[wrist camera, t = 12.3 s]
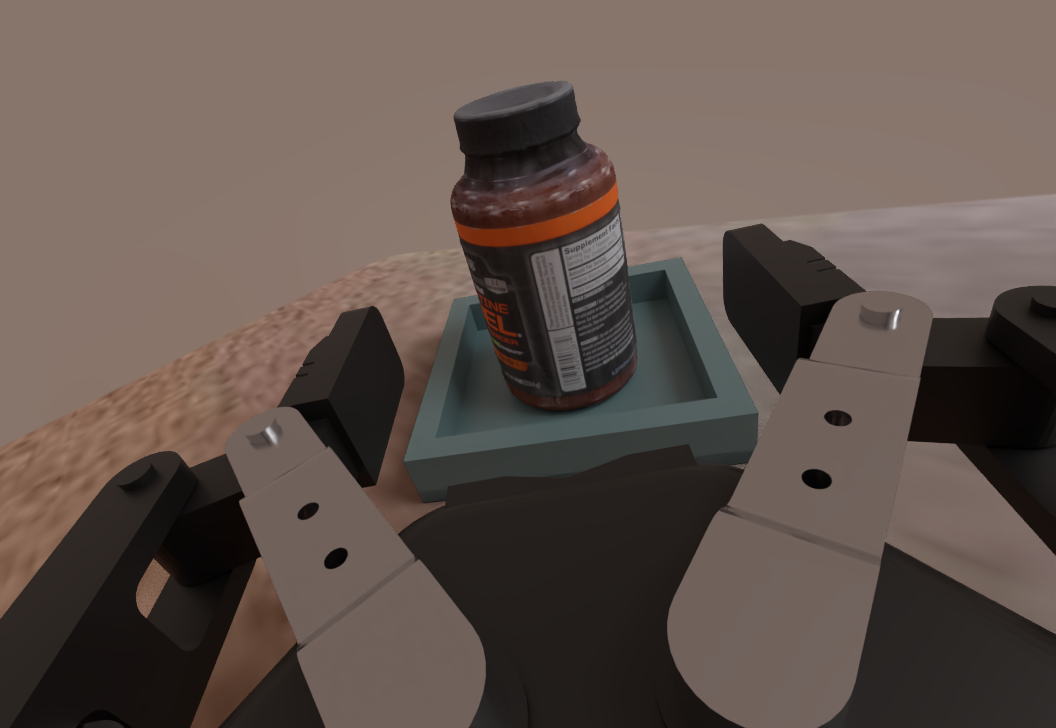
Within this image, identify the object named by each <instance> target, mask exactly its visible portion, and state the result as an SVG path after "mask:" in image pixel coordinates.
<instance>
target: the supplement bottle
mask: <svg viewBox="0 0 1056 728" xmlns="http://www.w3.org/2000/svg"><path fill="white" fill-rule="evenodd" d="M580 120H581V119H580V117H579V115H578V112H577V106H576V102H575V95H574V89H573V86H572V85H571V84H570V83H568V82H566V81H557V82H554V81H552V82H543V83H535V84H531V85H525V86H520V87H516V88H512V89H508V90H505V91H501V92H498V93H495V94H492V95H489V96H487V97H484V98H481V99H479V100H476V101H473V102H471V103H468V104H466V105H464V106H462V107H461V108H459V109H458V110H457V111H456V112H455V114H454V121H455V125H456V130H457V134H458V138H459V141H460V150H461V151H462V152H463V153H464V154H465V159H466V160H465V172H464V175H463V176H462V177H461V178H460V180H459V181H458V182H457V183H456V185H455V187H454V189H453V191H452V195H451V209H452V213H453V217H454V221H455V224H456V227H457V231H458V234H459V238H460V243H461V245H462V248H463V251H464V255H465V257H466V260H467V263H468V267H469V270H470V273H471V276H472V279H473V282H474V285H475V289H476V292H477V294H478V299H479V301H480V305H481V308H482V311H483V314H484V317H485V321H486V324H487V327H488V331H489V334H490V337H491V340H492V343H493V346H494V350H495V354H496V356H497V358H498V362H499V364H500V368H501V371H502V375H503V376H504V379H505V381H506V384H507V386H508V388H509V389H510V391H511V393H512V394H513V395H514V396H516V397H517V398H518V399H519V400H520V401H522V402H524V403H526V404H528V405H531V406H533V407H537V408H540V409H547V410H570V409H578V408H584V407H587V406H590V405H594V404H596V403H599V402H602V401H604V400H605V399H607V398H609V397H610V396H611V395H614V394H615V393H616V392H618V391H620V389H621V388H622V387H623V386H624V385H625V384H626V383H628V381H629V380H630V378H631V377H632V376H633V374H634V372H635V370H636V366H637V359H638V357H637V340H636V333H635V325H634V316H633V307H632V299H631V292H630V285H629V275H628V266H627V258H626V251H625V243H624V235H623V228H622V220H621V213H620V205H619V200H618V189H617V182H616V175H615V172H614V167H613V164H612V162H611V160H610V159H609V157H608V156H607V155H606V153H605V152H603V151H602V150H601V149H600V148H598V147H596V146H594V145H592V144H588V143H586V142H584V141H583V140H582V139H581V138H580V136H579V135H578V134H577V127H578V126H579V123H580Z"/></svg>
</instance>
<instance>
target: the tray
mask: <svg viewBox="0 0 1056 728" xmlns="http://www.w3.org/2000/svg"><path fill="white" fill-rule="evenodd" d="M628 275H629V285H630V292H631V299H632V307H633V316H634V325H635V333H636V340H637V357H638V359H637V366H636V370H635V372H634V374H633V376H632V377H631V378H630V380H629V381H628V383H626V384H625V385H624V386H623V387H622V388H621V389H620V391H618V392H616V393H615V394H614V395H611V396H610V397H609V398H607V399H605V400H604V401H602V402H599V403H596V404H594V405H590V406H587V407H584V408H578V409H570V410H547V409H540V408H537V407H533V406H531V405H528V404H526V403H524V402H522V401H520V400H519V399H518V398H517V397H516V396H514V395H513V394H512V393H511V391H510V389H509V388H508V386H507V384H506V381H505V379H504V376H503V375H502V371H501V368H500V364H499V362H498V358H497V356H496V354H495V350H494V346H493V343H492V340H491V337H490V334H489V331H488V327H487V324H486V321H485V317H484V314H483V311H482V308H481V305H480V301H479V299H478V295H474V296H469V297H463V298H458V299H454V300H453V303H452V306H451V310H450V313H449V316H448V319H447V323H446V326H445V329H444V332H443V335H442V339H441V342H440V345H439V348H438V352H437V355H436V358H435V361H434V364H433V368H432V371H431V374H430V377H429V380H428V384H427V387H426V390H425V393H424V397H423V400H422V403H421V406H420V409H419V413H418V416H417V419H416V422H415V426H414V429H413V432H412V435H411V438H410V442H409V445H408V448H407V451H406V455H405V458H404V461H403V462H404V464H405V466H406V468H407V470H408V472H409V474H410V476H411V478H412V480H413V482H414V484H415V486H416V488H417V490H418V492H419V494H420V496H421V499H422V501H423V503H426V502H434V501H442V500H446V496H447V488H448V486H452V485H458V484H463V483H469V482H475V481H480V480H486V479H492V478H498V477H503V476H515V477H551V478H565V477H570V476H573V475H576V474H579V473H581V472H584V471H586V470H589V469H592V468H594V467H597V466H599V465H602V464H605V463H607V462H610V461H612V460H615V459H618V458H620V457H623V456H625V455H629V454H634V453H640V452H646V451H651V450H657V449H663V448H668V447H674V446H680V445H685V444H689V446H690V448H691V451H692V453H693V456H694V458H695V460H696V462H708V463H716V464H723V465H731V464H739V463H747V462H749V460H750V458H751V456H752V454H753V452H754V449H755V447H756V445H757V436H758V411H757V409H756V407H755V405H754V403H753V401H752V399H751V397H750V395H749V393H748V391H747V389H746V387H745V385H744V383H743V381H742V379H741V377H740V375H739V373H738V371H737V369H736V367H735V365H734V363H733V361H732V358H731V356H730V354H729V352H728V350H727V348H726V346H725V344H724V342H723V340H722V338H721V336H720V334H719V332H718V330H717V328H716V326H715V324H714V322H713V320H712V318H711V316H710V314H709V312H708V310H707V308H706V306H705V304H704V302H703V300H702V298H701V296H700V294H699V292H698V290H697V288H696V286H695V284H694V281H693V279H692V277H691V275H690V273H689V271H688V269H687V267H686V265H685V263H684V261H683V259H682V257H680V258H675V259H669V260H664V261H658V262H653V263H647V264H642V265H637V266H631V267H628Z"/></svg>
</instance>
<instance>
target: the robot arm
mask: <svg viewBox="0 0 1056 728" xmlns="http://www.w3.org/2000/svg"><path fill="white" fill-rule="evenodd" d="M723 298H724V305H725V310H726V313H727V316H728V319H729V321H730V323H731V324H732V326H733V327H734V328H735V330H736V331H737V333H738V334H739V336H740V337H741V339H742V340H743V342H744V343H745V344H746V346H747V347H748V349H749V350H750V352H751V353H752V355H753V356H754V358H755V359H756V361H757V362H758V363H759V365H760V366H761V368H762V369H763V371H764V372H765V374H766V375H767V377H768V378H769V379H770V381H771V382H772V384H773V385H774V387H775V388H776V390H777V391H778V393H779V394H780V397H779V399H778V401H777V403H776V405H775V407H774V409H773V412H772V414H771V416H770V418H769V420H768V422H767V424H766V426H765V428H764V430H763V433H762V435H761V437H760V439H759V441H758V443H757V445H756V447H755V449H754V452H753V454H752V456H751V458H750V460H749V462H748V464H747V466H746V468H745V470H743V469H740V468H737V467H732V466H728V465H723V464H716V463H708V462H696V460H695V458H694V456H693V453H692V451H691V448H690V446H689V444H685V445H680V446H674V447H668V448H663V449H657V450H651V451H646V452H640V453H634V454H629V455H625V456H623V457H620V458H618V459H615V460H612V461H610V462H607V463H605V464H602V465H599V466H597V467H594V468H592V469H589V470H586V471H584V472H581V473H579V474H576V475H573V476H570V477H565V478H551V477H515V476H503V477H498V478H492V479H486V480H480V481H475V482H469V483H463V484H458V485H452V486H448V488H447V496H446V504H445V506H442V507H440V508H438V509H436V510H434V511H432V512H430V513H428V514H426V515H424V516H422V517H421V518H419V519H417V520H416V521H414V522H413V523H411V524H410V525H409V526H407V527H406V528H405V529H403V530H402V531H401V532H400V533H399V534H397V533H396V532H395V531H394V529H393V528H392V527H391V526H390V524H389V523H388V522H387V520H386V519H385V518H384V516H383V515H382V514H381V513H380V511H379V510H378V509H377V507H376V506H375V505H374V503H373V502H372V501H371V500H370V498H369V497H368V496H367V494H366V493H365V492H364V490H363V489H362V488H364V487H370V486H375V485H376V483H377V480H378V476H379V473H380V469H381V466H382V462H383V458H384V455H385V451H386V448H387V444H388V441H389V437H390V433H391V430H392V426H393V423H394V419H395V416H396V412H397V409H398V405H399V401H400V398H401V394H402V391H403V387H404V370H403V366H402V362H401V360H400V357H399V355H398V353H397V350H396V348H395V346H394V343H393V341H392V339H391V336H390V334H389V332H388V329H387V327H386V325H385V323H384V320H383V318H382V316H381V314H380V312H379V310H378V309H377V308H376V307H374V306H371V307H366V308H361V309H357V310H352V311H347V312H343V313H341V315H340V316H339V318H338V320H337V322H336V324H335V326H334V327H333V329H332V331H331V333H330V335H329V336H327V337H325V338H324V339H323V340H321V341H320V342H319V343H318V344H317V345H316V346H315V347H314V348H313V349H311V350H310V352H309V354H308V355H307V357H306V359H305V361H304V362H303V364H302V365H303V367H300V369H299V371H298V373H297V374H296V378H294V380H293V381H292V383H291V385H290V386H289V388H288V390H287V392H286V393H285V395H284V397H283V399H282V400H281V402H280V404H279V406H278V407H277V408H274V409H270V410H267V411H265V412H262V413H260V414H258V415H256V416H254V417H252V418H251V419H249V420H247V421H246V422H245V423H243V424H242V425H241V426H239V427H238V428H237V429H236V430H235V431H234V432H233V433H232V435H231V436H230V437H229V439H228V440H227V442H226V445H225V452H226V454H224V455H221V456H219V457H216V458H214V459H211V460H209V461H206V462H204V463H201V464H199V465H196V466H193V467H191V468H189V467H188V465H187V464H186V463H185V462H184V461H183V459H182V458H181V457H180V456H179V455H178V454H177V453H175V452H172V451H164V452H158V453H155V454H152V455H149V456H146V457H144V458H142V459H140V460H138V461H136V462H134V463H132V464H131V465H129V466H127V467H126V468H124V469H123V470H122V471H120V472H119V473H118V474H116V475H115V476H114V477H113V478H112V479H111V480H110V481H109V482H108V483H107V484H106V485H105V486H104V487H103V488H102V490H101V491H100V492H99V494H98V495H97V496H96V497H95V499H94V500H93V501H92V502H91V504H90V505H89V506H88V508H87V509H86V510H85V511H84V513H83V514H82V515H81V517H80V518H79V519H78V520H77V522H76V523H75V524H74V526H73V527H72V528H71V529H70V531H69V532H68V533H67V535H66V536H65V537H64V538H63V540H62V541H61V542H60V543H59V545H58V546H57V547H56V549H55V550H54V551H53V552H52V554H51V555H50V556H49V558H48V559H47V560H46V561H45V563H44V564H43V565H42V567H41V568H40V569H39V570H38V572H37V573H36V574H35V576H34V577H33V578H32V579H31V581H30V582H29V583H28V585H27V586H26V587H25V588H24V590H23V591H22V592H21V593H20V595H19V596H18V597H17V599H16V600H15V601H14V602H13V604H12V605H11V606H10V608H9V609H8V610H7V611H6V613H5V614H4V615H3V617H2V618H1V619H0V728H190V727H191V724H192V722H193V719H194V716H195V714H196V711H197V709H198V706H199V704H200V701H201V699H202V696H203V694H204V691H205V689H206V686H207V684H208V681H209V679H210V676H211V674H212V671H213V669H214V666H215V663H216V661H217V658H218V656H219V653H220V651H221V648H222V646H223V643H224V641H225V638H226V636H227V633H228V631H229V628H230V626H231V623H232V621H233V618H234V616H235V613H236V611H237V608H238V605H239V603H240V600H241V598H242V595H243V593H244V590H245V588H246V585H247V583H248V580H249V578H250V575H251V573H252V570H253V568H254V565H255V562H256V559H257V558H259V557H262V558H263V561H264V563H265V566H266V568H267V570H268V573H269V575H270V577H271V580H272V582H273V585H274V587H275V589H276V592H277V594H278V596H279V599H280V601H281V603H282V606H283V608H284V611H285V613H286V615H287V618H288V620H289V622H290V625H291V627H292V630H293V632H294V634H295V637H296V640H297V643H296V644H295V645H294V646H293V647H292V648H291V649H290V650H289V651H288V652H287V654H286V655H285V656H284V657H283V658H282V659H281V660H280V661H279V662H278V663H277V664H276V666H275V667H274V668H273V669H272V670H271V671H270V672H269V673H268V674H267V675H266V676H265V677H264V679H263V680H262V681H261V682H260V683H259V684H258V685H257V686H256V687H255V688H254V689H253V691H252V692H251V693H250V694H249V695H248V696H247V697H246V698H245V699H244V700H243V701H242V703H241V704H240V705H239V706H238V707H237V708H236V709H235V710H234V711H233V712H232V713H231V714H230V716H229V717H228V718H227V719H226V720H225V721H224V722H223V723H222V724H221V725H220V726H219V728H1056V634H1054V633H1052V632H1050V631H1048V630H1046V629H1045V628H1043V627H1041V626H1039V625H1037V624H1035V623H1033V622H1032V621H1030V620H1028V619H1026V618H1024V617H1022V616H1021V615H1019V614H1017V613H1015V612H1013V611H1011V610H1009V609H1008V608H1006V607H1004V606H1002V605H1000V604H998V603H997V602H995V601H993V600H991V599H989V598H987V597H985V596H984V595H982V594H980V593H978V592H976V591H974V590H973V589H971V588H969V587H967V586H965V585H963V584H962V583H960V582H958V581H956V580H954V579H952V578H950V577H949V576H947V575H945V574H943V573H941V572H939V571H938V570H936V569H934V568H932V567H930V566H928V565H926V564H925V563H923V562H921V561H919V560H917V559H915V558H914V557H912V556H910V555H908V554H906V553H904V552H903V551H901V550H899V549H897V548H895V547H893V546H891V545H890V544H888V543H886V542H885V539H886V535H887V530H888V526H889V521H890V516H891V512H892V507H893V503H894V498H895V493H896V489H897V484H898V480H899V475H900V470H901V466H902V461H903V457H904V452H905V448H906V443H907V441H917V442H934V443H952V444H956V445H957V446H958V447H959V449H960V450H961V451H962V452H963V453H964V454H965V455H966V456H967V457H968V459H969V460H970V461H971V462H972V463H973V464H974V465H975V466H976V467H977V469H978V470H979V471H980V472H981V473H982V474H983V475H984V476H985V477H986V479H987V480H988V481H989V482H990V483H991V484H992V485H993V486H994V487H995V489H996V490H997V491H998V492H999V493H1000V494H1001V495H1002V496H1003V498H1004V499H1005V500H1006V501H1007V502H1008V503H1009V504H1010V505H1011V506H1012V508H1013V509H1014V510H1015V511H1016V512H1017V513H1018V514H1019V515H1020V516H1021V518H1022V519H1023V520H1024V521H1025V522H1026V523H1027V524H1028V525H1029V526H1030V528H1031V529H1032V530H1033V531H1034V532H1035V533H1036V534H1037V535H1038V536H1039V538H1040V539H1041V540H1042V541H1043V542H1044V543H1045V544H1046V545H1047V546H1048V548H1049V549H1050V550H1051V551H1052V552H1053V553H1054V554H1055V555H1056V286H1027V287H1020V288H1015V289H1011V290H1008V291H1006V292H1004V293H1002V294H1000V295H999V296H998V297H997V298H996V299H995V301H994V305H993V308H992V311H991V314H990V317H989V318H933V313H932V311H931V309H930V308H929V307H928V306H927V305H926V304H925V303H923V302H922V301H920V300H918V299H916V298H913V297H911V296H907V295H904V294H899V293H893V292H883V291H870V292H867V291H865V290H864V289H863V288H862V287H860V286H859V285H858V284H857V283H855V282H854V281H853V280H852V279H851V278H849V277H848V276H847V275H846V274H844V273H843V272H842V271H841V270H839V269H836V266H835V265H833V264H832V263H831V262H830V261H828V260H825V257H823V256H822V255H821V254H820V253H818V252H817V251H816V250H815V249H814V248H812V247H810V246H807V245H804V244H801V243H798V242H795V241H792V240H788V241H782V240H781V239H780V238H779V237H777V236H776V235H775V234H774V233H773V232H772V231H771V230H769V229H768V228H767V227H766V226H765V225H763V224H757V225H752V226H748V227H743V228H738V229H734V230H729V231H726V232H725V234H724V237H723ZM153 558H154V559H155V560H156V561H157V562H158V563H159V564H160V565H161V566H162V567H163V568H164V569H165V570H166V571H167V572H168V573H169V574H170V577H169V578H168V580H167V582H166V584H165V586H164V588H163V590H162V591H161V593H160V595H159V597H158V599H157V601H156V603H155V604H154V606H153V608H152V610H151V612H150V614H149V616H148V617H147V619H146V618H145V617H144V616H143V615H142V614H141V613H140V611H139V610H138V607H137V603H136V591H137V587H138V584H139V582H140V580H141V578H142V577H143V575H144V573H145V571H146V570H147V568H148V566H149V565H150V563H151V561H152V559H153Z"/></svg>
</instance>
